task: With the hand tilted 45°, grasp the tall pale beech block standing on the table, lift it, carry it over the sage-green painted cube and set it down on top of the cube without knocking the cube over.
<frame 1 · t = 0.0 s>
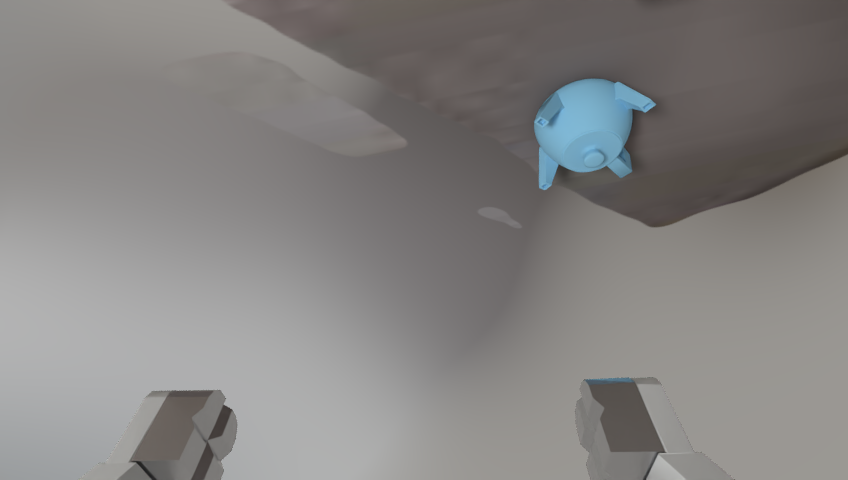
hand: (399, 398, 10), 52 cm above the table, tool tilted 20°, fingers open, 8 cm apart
teapot: (577, 109, 68), on the table
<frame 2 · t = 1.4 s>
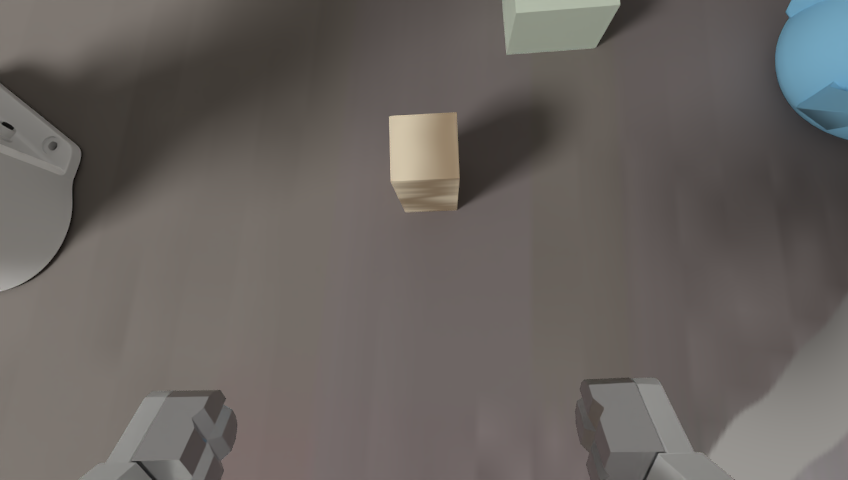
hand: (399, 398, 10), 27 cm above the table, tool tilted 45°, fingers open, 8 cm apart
sage cube: (546, 12, 41), on the table
teapot: (841, 76, 39), on the table
beech block: (430, 186, 39), on the table
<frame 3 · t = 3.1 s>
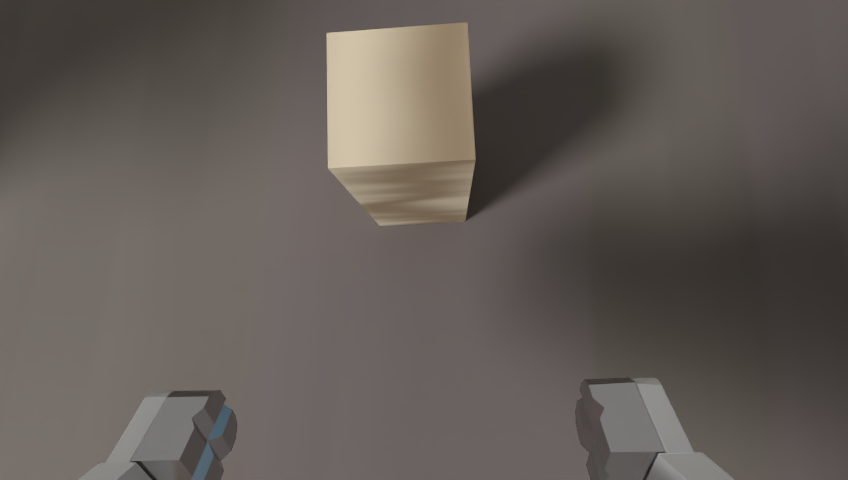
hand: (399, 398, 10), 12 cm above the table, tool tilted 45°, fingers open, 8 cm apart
beech block: (420, 182, 24), on the table
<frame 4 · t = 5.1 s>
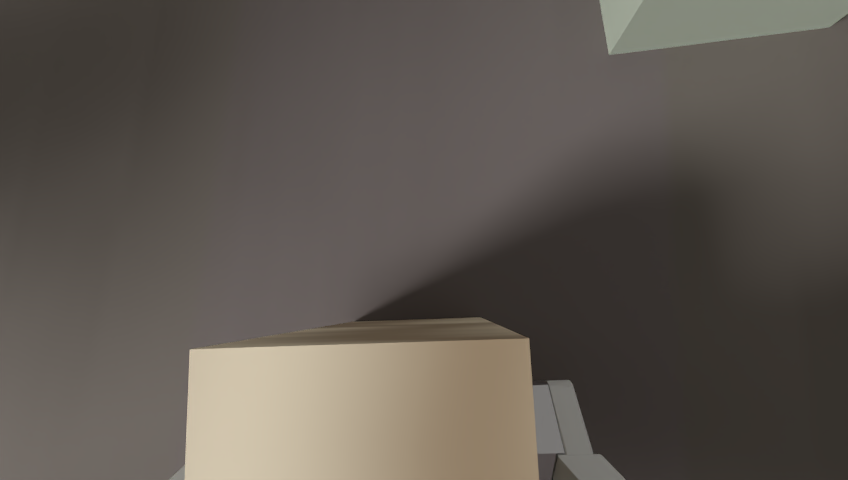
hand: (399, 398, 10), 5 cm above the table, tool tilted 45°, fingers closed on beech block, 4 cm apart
beech block: (418, 385, 15), on the table, touching gripper
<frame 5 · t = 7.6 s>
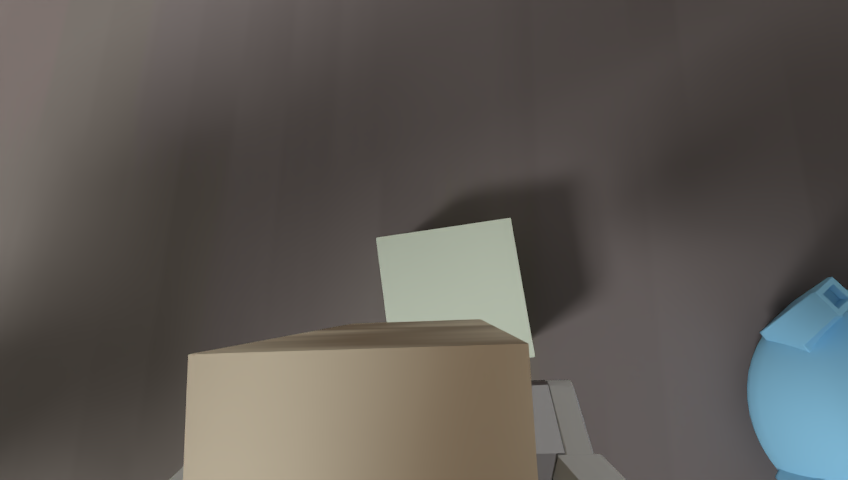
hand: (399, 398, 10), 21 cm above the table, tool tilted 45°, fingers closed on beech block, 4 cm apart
sage cube: (451, 297, 31), on the table
teapot: (835, 398, 29), on the table
beech block: (418, 387, 15), point 16 cm above the table, touching gripper
when the fingers open (13 cm above the table, at t = 10.2 s): beech block drops 1 cm, resting on sage cube.
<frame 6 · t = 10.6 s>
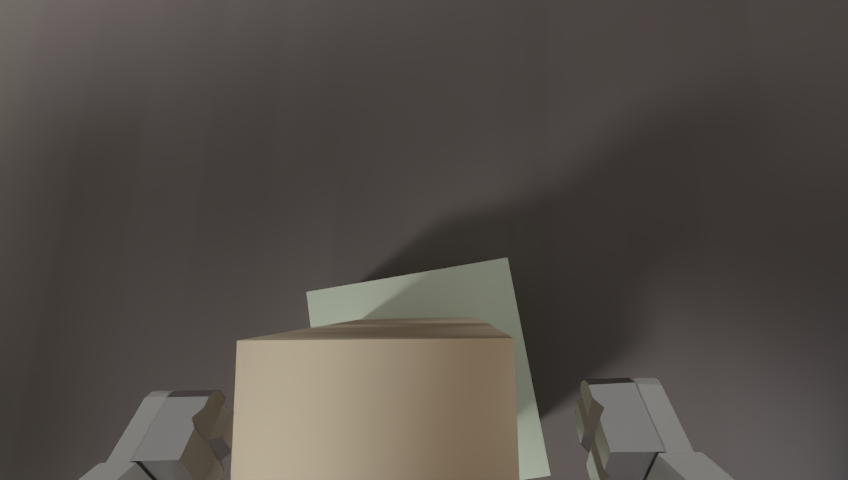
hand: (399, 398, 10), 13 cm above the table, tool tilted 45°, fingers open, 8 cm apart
sage cube: (430, 360, 23), on the table, touching beech block
beech block: (420, 378, 17), point 6 cm above the table, touching sage cube
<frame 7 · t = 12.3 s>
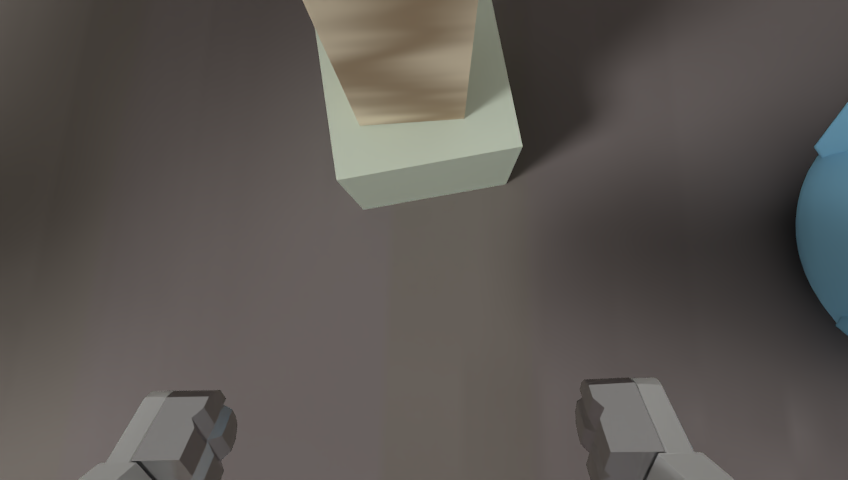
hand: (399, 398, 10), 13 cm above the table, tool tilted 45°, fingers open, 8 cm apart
sage cube: (422, 130, 25), on the table
beech block: (409, 73, 19), point 6 cm above the table
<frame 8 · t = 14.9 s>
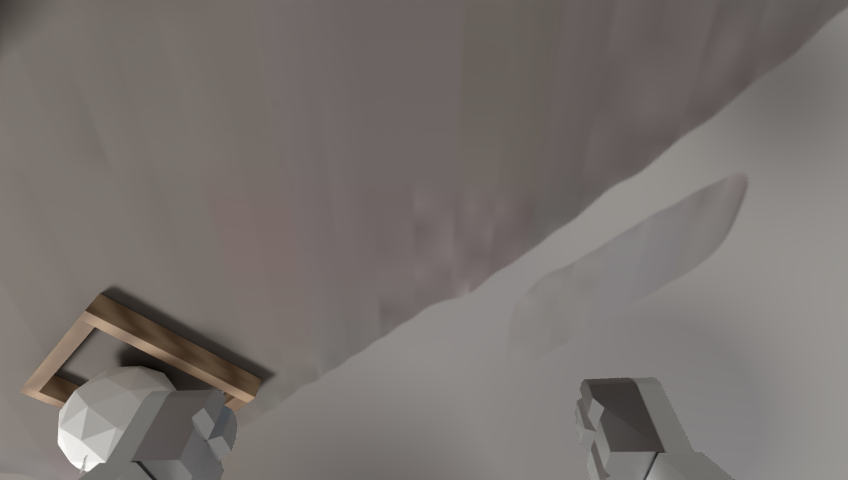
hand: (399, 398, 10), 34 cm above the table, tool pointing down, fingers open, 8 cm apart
wooden rectangular frame: (147, 376, 66), on the table
geodesic sphere: (148, 375, 66), on the table
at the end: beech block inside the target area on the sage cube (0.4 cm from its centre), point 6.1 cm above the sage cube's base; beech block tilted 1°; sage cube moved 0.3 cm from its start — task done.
